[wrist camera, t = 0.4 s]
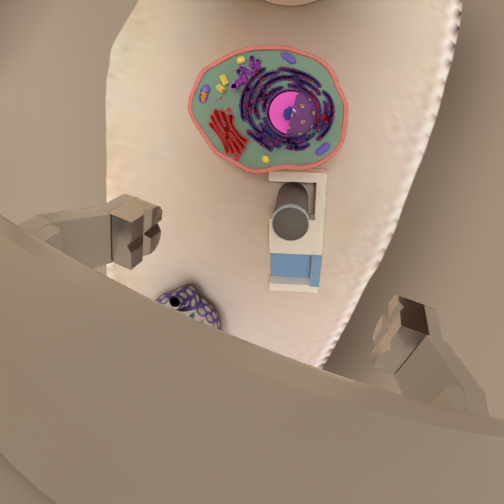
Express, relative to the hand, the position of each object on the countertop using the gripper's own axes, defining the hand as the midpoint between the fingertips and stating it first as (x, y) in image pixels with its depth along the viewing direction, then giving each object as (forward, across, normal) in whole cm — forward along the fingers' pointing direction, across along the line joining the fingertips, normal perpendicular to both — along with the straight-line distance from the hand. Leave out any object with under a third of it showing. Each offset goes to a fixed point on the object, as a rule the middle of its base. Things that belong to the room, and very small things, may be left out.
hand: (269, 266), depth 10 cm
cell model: (+38, +11, -1) cm, 39 cm away
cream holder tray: (+38, +3, +18) cm, 42 cm away
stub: (+38, +4, +12) cm, 40 cm away
